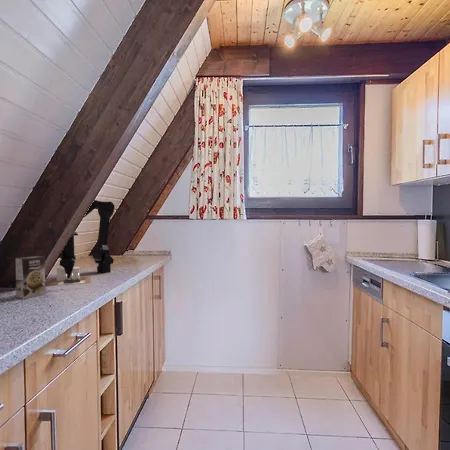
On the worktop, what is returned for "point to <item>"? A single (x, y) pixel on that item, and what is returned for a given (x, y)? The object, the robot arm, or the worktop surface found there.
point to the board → (54, 282)
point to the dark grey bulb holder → (72, 279)
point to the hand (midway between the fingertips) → (68, 277)
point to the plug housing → (62, 273)
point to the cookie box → (30, 276)
